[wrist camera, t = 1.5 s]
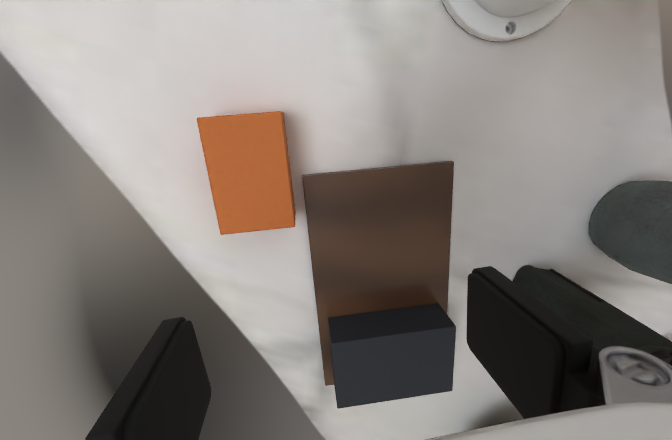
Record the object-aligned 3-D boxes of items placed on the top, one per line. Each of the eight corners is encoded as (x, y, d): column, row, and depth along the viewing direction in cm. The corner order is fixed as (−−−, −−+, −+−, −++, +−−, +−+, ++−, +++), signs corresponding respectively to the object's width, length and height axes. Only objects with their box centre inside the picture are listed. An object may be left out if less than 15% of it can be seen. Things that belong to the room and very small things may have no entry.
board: (302, 175, 29) (302, 176, 28) (451, 160, 30) (454, 161, 29) (325, 381, 36) (325, 385, 36) (442, 364, 38) (444, 368, 37)
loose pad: (210, 117, 26) (196, 117, 23) (283, 111, 27) (280, 111, 23) (230, 219, 29) (220, 235, 26) (295, 212, 30) (295, 227, 26)
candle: (503, 304, 36) (896, 670, 12) (520, 263, 34) (1004, 590, 11) (542, 309, 37) (980, 661, 13) (560, 270, 35) (1090, 586, 12)
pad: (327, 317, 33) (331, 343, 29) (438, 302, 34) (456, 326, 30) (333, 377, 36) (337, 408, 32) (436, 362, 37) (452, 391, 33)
